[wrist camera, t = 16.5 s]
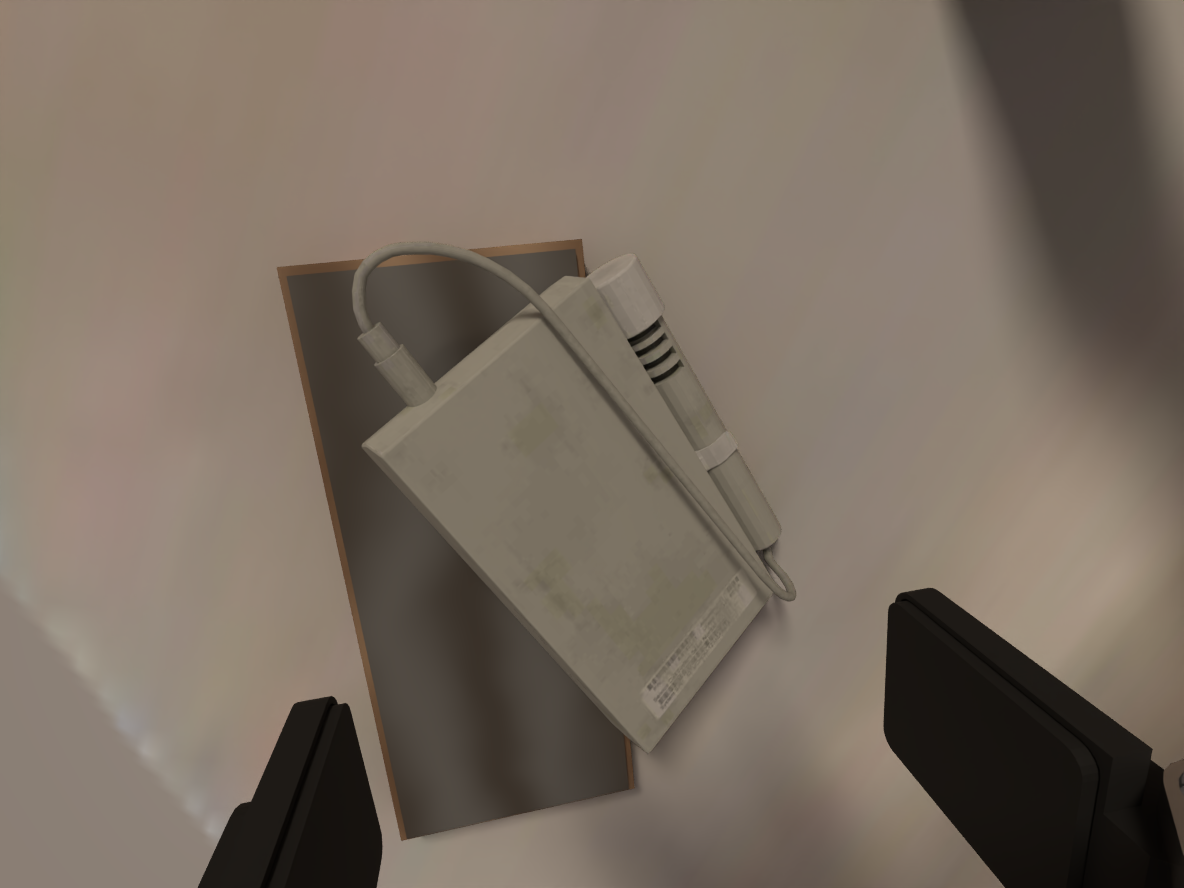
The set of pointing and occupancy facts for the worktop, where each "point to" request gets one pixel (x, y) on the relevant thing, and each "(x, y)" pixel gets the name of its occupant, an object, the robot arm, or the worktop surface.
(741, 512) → the geiger counter
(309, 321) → the brown wooden board
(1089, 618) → the worktop surface
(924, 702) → the robot arm
